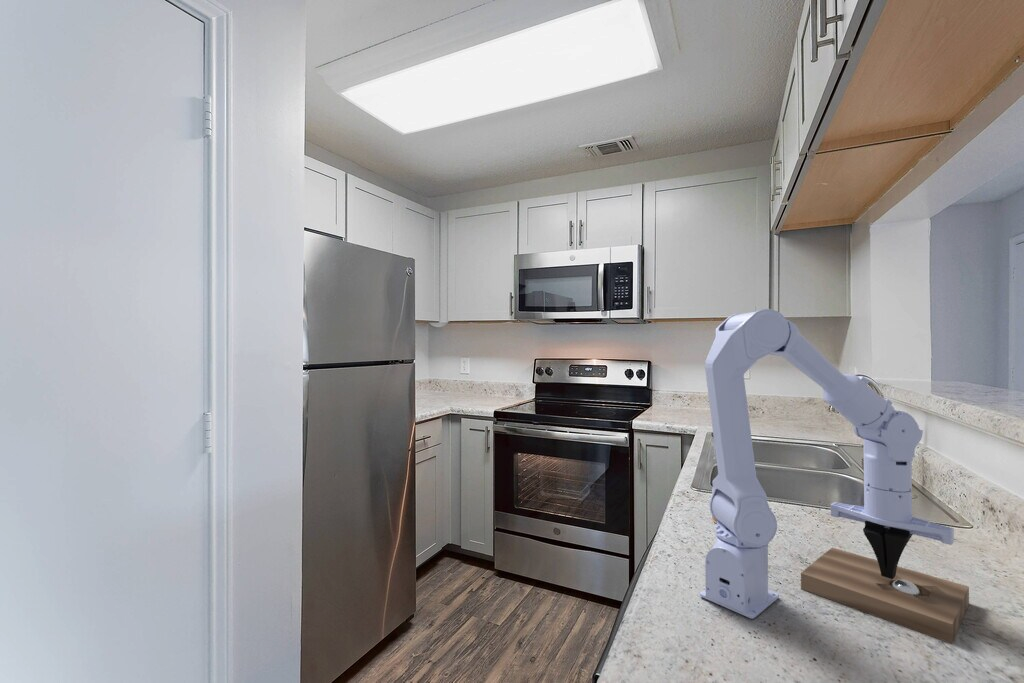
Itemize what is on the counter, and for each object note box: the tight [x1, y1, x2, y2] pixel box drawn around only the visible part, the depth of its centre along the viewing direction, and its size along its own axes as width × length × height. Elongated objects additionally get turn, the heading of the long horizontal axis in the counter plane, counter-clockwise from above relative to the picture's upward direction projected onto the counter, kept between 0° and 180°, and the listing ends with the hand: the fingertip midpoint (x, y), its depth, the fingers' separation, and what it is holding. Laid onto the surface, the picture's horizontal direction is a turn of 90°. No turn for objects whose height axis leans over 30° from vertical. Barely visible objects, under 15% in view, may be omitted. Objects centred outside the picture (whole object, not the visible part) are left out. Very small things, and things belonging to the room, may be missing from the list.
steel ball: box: [891, 579, 921, 596], centre depth 68 cm, size 4×4×4 cm
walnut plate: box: [800, 547, 970, 645], centre depth 71 cm, size 15×18×2 cm
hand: (888, 575), depth 70 cm, fingers closed
